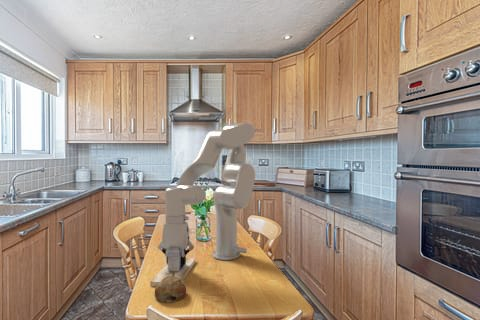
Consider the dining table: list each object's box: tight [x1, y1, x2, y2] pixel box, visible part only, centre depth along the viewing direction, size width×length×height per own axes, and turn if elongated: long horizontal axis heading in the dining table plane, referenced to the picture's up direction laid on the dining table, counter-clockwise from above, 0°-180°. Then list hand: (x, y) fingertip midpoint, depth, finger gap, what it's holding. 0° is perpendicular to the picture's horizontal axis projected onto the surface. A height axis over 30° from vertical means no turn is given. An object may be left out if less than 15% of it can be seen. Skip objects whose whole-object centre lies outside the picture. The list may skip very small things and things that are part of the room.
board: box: [149, 257, 197, 287], centre depth 116 cm, size 10×24×2 cm, turn 174°
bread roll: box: [154, 276, 187, 304], centre depth 97 cm, size 10×10×8 cm
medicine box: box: [168, 248, 182, 271], centre depth 117 cm, size 8×4×9 cm, turn 175°
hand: (176, 265), depth 116 cm, fingers closed on medicine box, 4 cm apart
